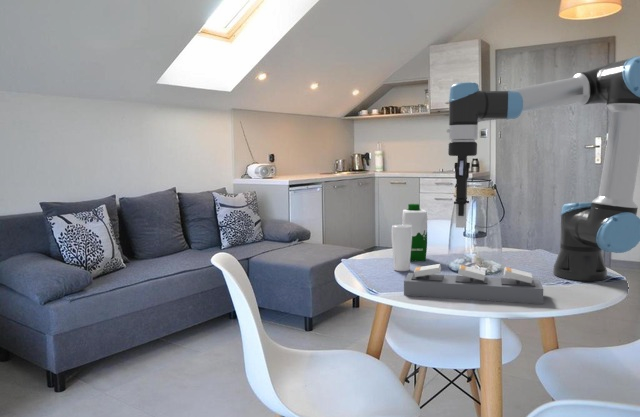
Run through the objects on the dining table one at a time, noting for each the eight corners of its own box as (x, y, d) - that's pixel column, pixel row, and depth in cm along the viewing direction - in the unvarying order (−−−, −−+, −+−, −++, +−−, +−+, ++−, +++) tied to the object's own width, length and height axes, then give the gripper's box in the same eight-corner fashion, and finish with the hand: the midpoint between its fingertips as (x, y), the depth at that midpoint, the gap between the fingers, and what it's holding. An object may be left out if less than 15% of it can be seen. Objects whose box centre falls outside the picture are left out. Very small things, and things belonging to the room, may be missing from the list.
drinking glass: (387, 270, 180) (387, 225, 178) (400, 266, 184) (400, 223, 182) (402, 273, 175) (402, 228, 173) (416, 270, 179) (416, 225, 177)
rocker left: (441, 269, 153) (440, 263, 153) (439, 273, 148) (438, 267, 148) (417, 272, 155) (415, 267, 155) (415, 277, 150) (413, 271, 150)
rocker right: (529, 278, 146) (531, 272, 146) (531, 283, 142) (533, 277, 141) (503, 272, 148) (505, 266, 148) (504, 276, 143) (505, 270, 143)
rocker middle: (483, 276, 150) (485, 270, 149) (483, 280, 145) (485, 274, 145) (458, 270, 152) (460, 264, 151) (457, 274, 147) (459, 268, 147)
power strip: (539, 293, 148) (539, 276, 148) (542, 304, 139) (543, 285, 138) (408, 286, 159) (408, 269, 158) (403, 295, 149) (403, 277, 149)
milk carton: (424, 256, 200) (424, 203, 198) (428, 261, 191) (429, 206, 189) (401, 256, 200) (401, 203, 198) (403, 262, 192) (404, 206, 189)
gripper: (450, 141, 153) (448, 223, 155) (446, 141, 140) (445, 230, 143) (477, 141, 150) (475, 224, 153) (476, 140, 138) (474, 231, 141)
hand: (460, 227), depth 148 cm, fingers closed
